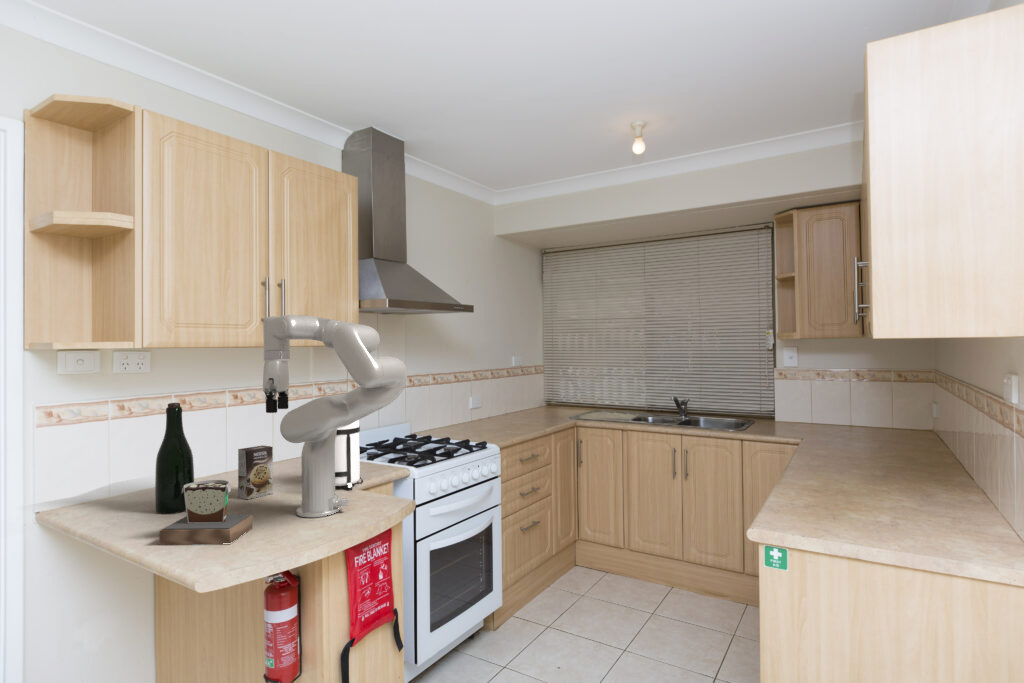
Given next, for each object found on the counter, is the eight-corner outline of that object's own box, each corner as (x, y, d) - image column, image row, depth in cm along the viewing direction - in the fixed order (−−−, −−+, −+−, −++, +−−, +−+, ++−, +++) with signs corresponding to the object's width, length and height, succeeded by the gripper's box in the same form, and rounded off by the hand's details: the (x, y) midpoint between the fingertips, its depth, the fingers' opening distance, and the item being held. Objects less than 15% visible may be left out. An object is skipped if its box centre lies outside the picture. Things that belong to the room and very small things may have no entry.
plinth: (252, 528, 154) (252, 514, 154) (230, 544, 142) (229, 528, 142) (187, 529, 154) (187, 514, 154) (159, 545, 142) (159, 529, 142)
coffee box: (247, 500, 182) (246, 450, 182) (237, 497, 186) (237, 448, 186) (273, 493, 190) (273, 446, 190) (263, 491, 194) (263, 444, 194)
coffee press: (312, 485, 200) (311, 401, 200) (356, 479, 209) (355, 398, 209) (325, 496, 185) (324, 406, 185) (372, 489, 194) (371, 402, 194)
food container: (240, 515, 153) (239, 479, 153) (228, 523, 146) (228, 484, 146) (195, 516, 153) (194, 479, 153) (181, 523, 146) (181, 485, 146)
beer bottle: (179, 503, 180) (178, 400, 180) (202, 506, 176) (201, 401, 176) (147, 512, 170) (145, 404, 170) (171, 516, 166) (169, 405, 166)
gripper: (274, 355, 183) (275, 407, 183) (253, 356, 166) (253, 414, 166) (298, 355, 184) (298, 407, 184) (279, 356, 166) (279, 414, 166)
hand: (277, 410), depth 175 cm, fingers open, 9 cm apart
